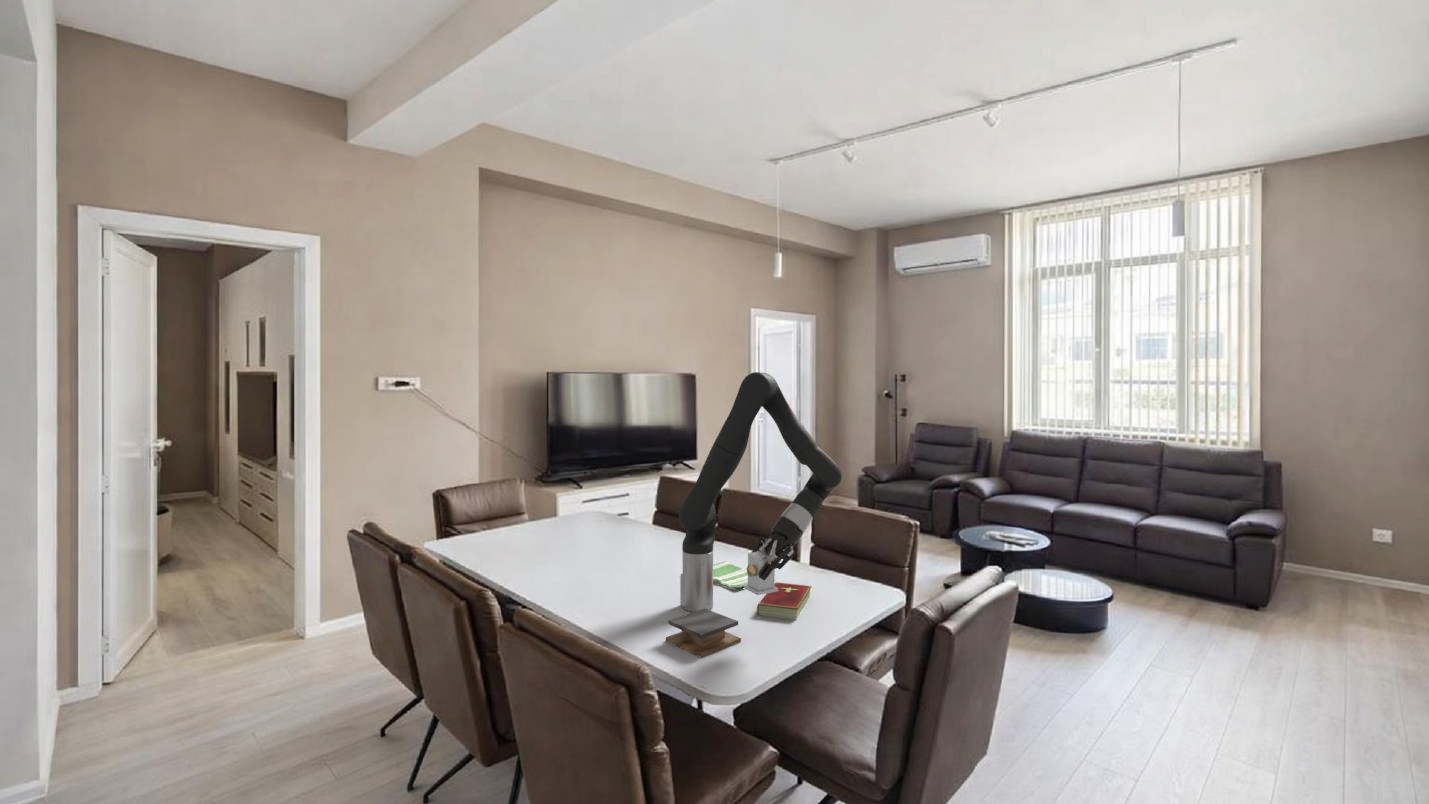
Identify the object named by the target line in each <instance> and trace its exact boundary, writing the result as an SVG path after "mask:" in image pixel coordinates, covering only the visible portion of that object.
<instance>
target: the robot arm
mask: <svg viewBox="0 0 1429 804" xmlns="http://www.w3.org/2000/svg"><path fill="white" fill-rule="evenodd" d="M762 408H763V409H764V410H765V411H766V412H767V414H769V416H770V417H771V418H772V420H773V421H774V423H775V424H776V426H777V429H778V431H779V433H780V435H781V437H782V439H783V441H784V443H785V444H786V446H787V448H789V450H790V452H791V454H793V456H794V457H795V458H796V460H797V461H798V462H799V463H800V464H801V465H803V466H806V467H807V468H808V469H809V470H810V471H811V472H812V474H811V475H810V477H809V479H808V480H807V482H806V483H805V485H804V486H803V488H802V490H801V491H800V492H799V493H798V494H797V495H796V496H795V498H794V499H793V501H791V503H790V504H789V505H788V507H787V508H786V509H785V510H784V511H783V512H782V513H781V515H780V516H779V517H778V519H777V521H776V522H775V523H774V525H773V526H772V527H771V534H770V535H769V536H767V537H766V538H764V536H759V538H758V540H757V542H756V543H755V545H754V546H753V548H752V550H751V552H750V553H753V552H759V551H760V552H764V551H766V552H768V553H770V556H771V558H770V559H769V560H768V564H766V565H765V566H764V568H763V569H762V570H761V572H760V573H759V577H760V578H761V579H762V580H765V579H766V578H767V577H768V576H769V575H770V573H771V572H772V570H773V569H775V570H776V569H778V570H781V569H783V568H784V567H785V565H787V564H788V562H789V561H790V560H791V559H792V558H793V557H794V556H795V555H796V552H795V551H794V550H793V549H792V547H794V546H796V544H797V543H798V542H799V540H800V539H801V538H802V536H803V535H804V533H805V532H806V531H807V529H808V528H809V526H810V525H811V523H812V521H813V519H814V518H815V516H816V515H817V514H818V512H819V511H820V509H821V507H822V506H823V502H824V501H825V500H826V498H827V497H828V496H829V495H830V493H832V491H833V490H834V489H835V488H836V487H837V486H838V485H840V484H841V481H842V471H841V469H840V467H839V465H838V464H837V463H836V461H835V460H833V459H832V458H831V457H830V456H829V455H828V454H827V453H826V452H825V451H824V450H823V449H822V448H820V447H819V445H818V443H817V442H816V441H815V438H813V436H812V435H811V434H810V432H809V431H808V430H807V429H806V427H805V426H804V425H803V423H802V422H801V421H800V419H799V418H798V417H797V415H796V413H795V412H794V411H793V409H792V408H791V406H790V404H789V403H788V401H787V398H785V395H784V394H783V391H782V390H781V388H780V386H779V384H778V382H777V380H776V379H775V378H774V376H773V375H771V374H770V373H767V372H761V371H760V372H759V371H754V372H751V373H749V374H747V375H746V376H745V377H744V378H743V379H742V381H741V384H740V386H739V389H738V392H737V394H736V397H735V399H734V402H733V404H732V407H731V410H730V412H729V414H728V416H727V418H726V420H725V421H724V423H723V425H722V427H721V429H720V430H719V433H718V435H717V437H716V439H714V442H713V444H712V446H711V449H710V450H709V453H708V454H707V457H706V459H705V461H704V464H703V465H702V468H701V471H700V472H699V475H698V477H697V480H696V481H695V483H694V485H693V487H692V488H691V490H690V492H689V494H688V495H687V497H686V498H685V500H684V502H682V504H681V506H680V509H679V511H678V520H679V523H680V525H681V526H682V527H683V529H685V530H686V533H685V536H684V539H683V540H682V545H681V546H682V573H680V578H679V579H680V581H679V583H680V588H679V589H680V597H679V599H680V603H679V604H680V606H682V609H683V610H685V611H688V612H691V613H692V612H695V611H698V610H701V609H704V608H705V609H708V610H710V611H711V610H712V609H713V608H714V584H713V565H714V543H715V540H716V529H717V528H716V526H717V525H716V522H717V520H716V519H717V512H716V508H715V507H716V506H715V504H714V502H715V499H716V498H717V496H718V495H719V493H720V492H721V490H722V489H723V487H724V485H726V484H727V482H728V481H729V479H730V478H732V476H733V474H734V473H735V471H736V470H737V468H738V466H739V464H740V462H741V461H742V458H743V456H744V455H745V453H746V449H747V447H748V443H749V440H750V439H749V438H750V433H751V428H752V425H753V423H754V420H755V419H756V418H757V417H756V416H758V413H759V411H760V410H761V409H762ZM774 559H775V560H774ZM773 560H774V561H773Z"/></svg>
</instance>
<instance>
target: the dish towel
mask: <svg viewBox="0 0 1429 804" xmlns="http://www.w3.org/2000/svg"><path fill="white" fill-rule="evenodd" d="M713 583H714V584H713V585H717V586H719V585H720V587H723V588H725V589H729V590H731V591H736V592H740V591H742V590H743V588H744V585H748V573H747V569H744V568H742V567H740V566H737V565H735V564H731V563H730V562H727V561H726V560H724V561H720V562H718V563H715V564H714V563H713ZM743 591H744V590H743Z"/></svg>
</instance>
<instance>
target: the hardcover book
mask: <svg viewBox="0 0 1429 804" xmlns="http://www.w3.org/2000/svg"><path fill="white" fill-rule="evenodd" d="M774 586H775V587H777V588H778V591H776V592H771V593H767V594H764V596H763V597H762V599H760V601H759V602H758V604H757V607H756V615H757V616H762V615H763V617H764V616H765V617H771V618H778V619H779V618H780V619H786V618H787V620H794V619H795V620H796V619H797V620H798V618H799V616H800V614H801V613H802V611H803V610H802V609H804V608H805V606H806V605H805V604H807V603H808V601H809V600H810V598H811V589H812V585H805V584H795V583H786V582H779V581H778V582H777V581H775V582H774ZM809 597H810V598H809ZM808 599H809V600H808ZM800 612H801V613H800ZM795 620H794V621H795ZM797 620H796V621H797Z"/></svg>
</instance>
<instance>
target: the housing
mask: <svg viewBox="0 0 1429 804" xmlns="http://www.w3.org/2000/svg"><path fill="white" fill-rule="evenodd" d="M770 558H771V556H770V553H768V552H766V551H765V550H764V552H760V551H759V552H758V551H757V552H753V553H751V552H748V553H747V567H746V570H747V573H748V585H744V588H745V589H744V590H746V591H749V592H751V593H753V594H755V595H756V596H760V595H766V594H767V593H771V592H776V591H778V588H777V587H775V586H774V584H775V572H776V571H775V570H776V569H773V570H772V572H771V573H770V575H769V576H768V577H767V578H766V579H765V580H762V579H761V578H760V577H759V573H760V572H761V570H762V569H763V568H764V566H765V565H766V564H768V560H769V559H770ZM774 560H775V559H774ZM774 560H773V561H774Z"/></svg>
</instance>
